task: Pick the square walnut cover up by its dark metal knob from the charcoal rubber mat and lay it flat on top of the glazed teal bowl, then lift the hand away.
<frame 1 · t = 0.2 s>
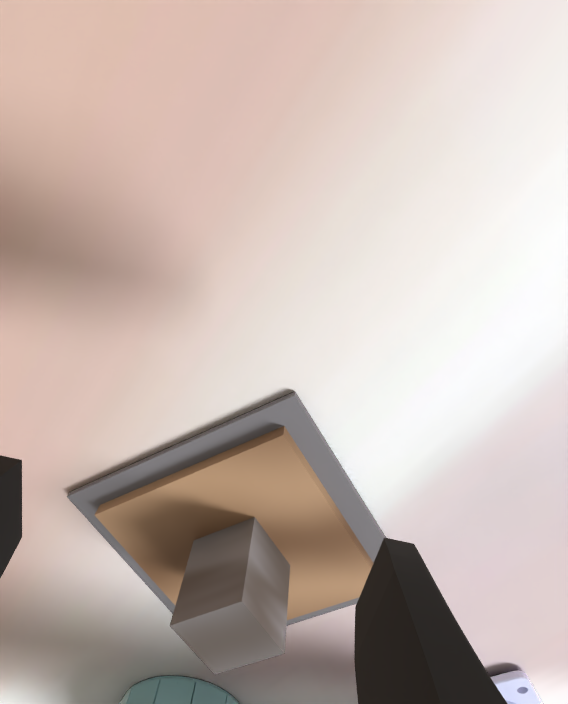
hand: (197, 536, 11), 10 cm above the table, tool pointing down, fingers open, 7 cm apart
cover: (244, 542, 23), resting on mat
mat: (244, 536, 24), on the table
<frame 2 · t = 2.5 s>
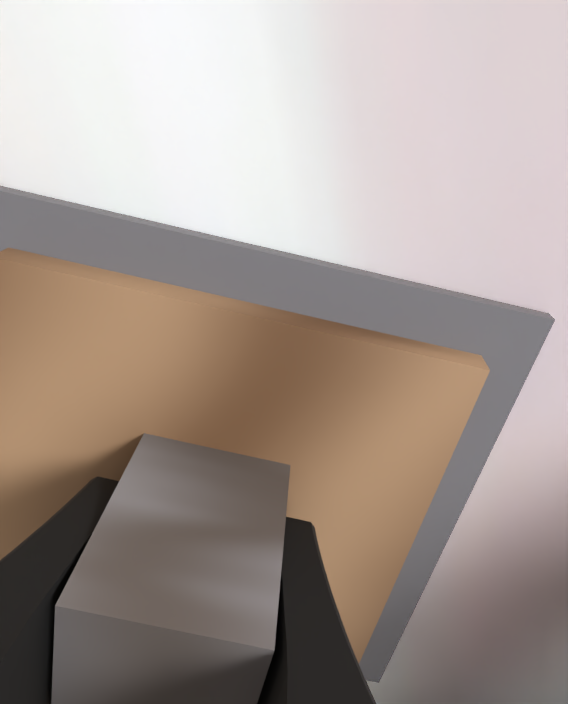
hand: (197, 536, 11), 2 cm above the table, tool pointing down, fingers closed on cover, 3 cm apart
cover: (211, 486, 12), resting on mat, touching gripper
mat: (214, 477, 12), on the table
when the fingers open (7 cm above the table, at t = 5.0 s): cover stays where it is, resting on bowl.
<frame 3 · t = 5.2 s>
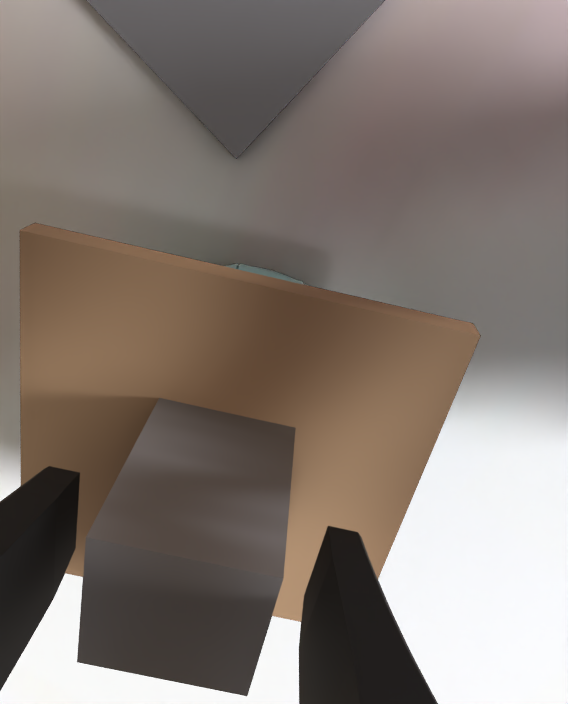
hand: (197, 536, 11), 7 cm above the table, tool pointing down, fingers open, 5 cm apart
bowl: (242, 374, 17), on the table
cover: (221, 450, 13), point 4 cm above the table, touching bowl
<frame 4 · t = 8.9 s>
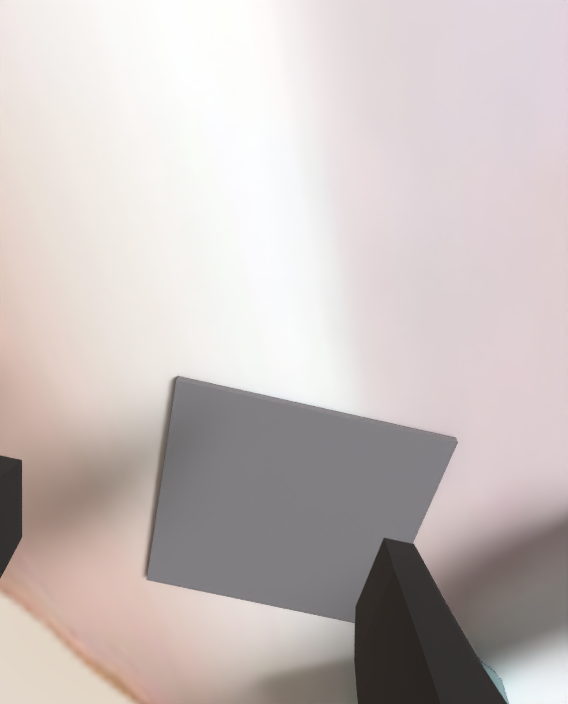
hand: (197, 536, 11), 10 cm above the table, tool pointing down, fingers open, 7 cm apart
mat: (287, 512, 23), on the table
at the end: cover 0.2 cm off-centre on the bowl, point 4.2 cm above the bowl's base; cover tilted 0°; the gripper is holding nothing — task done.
